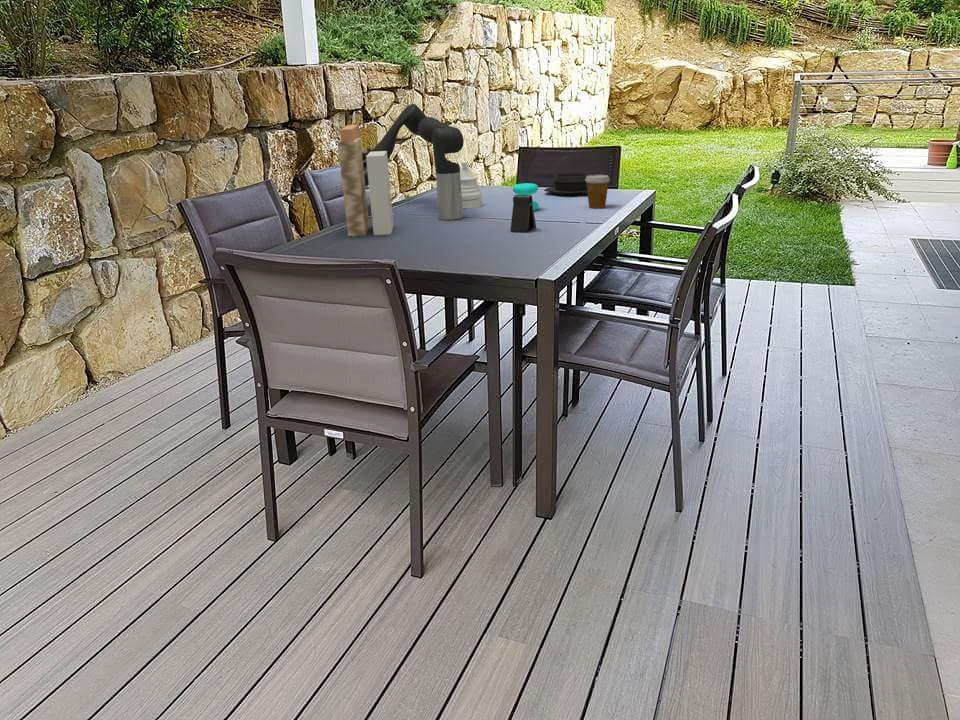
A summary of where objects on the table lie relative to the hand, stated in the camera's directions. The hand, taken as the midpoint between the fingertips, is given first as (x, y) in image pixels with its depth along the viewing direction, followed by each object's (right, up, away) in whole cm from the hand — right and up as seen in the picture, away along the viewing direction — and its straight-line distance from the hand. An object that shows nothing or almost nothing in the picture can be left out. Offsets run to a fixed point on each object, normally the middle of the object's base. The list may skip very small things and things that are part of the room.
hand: (356, 151), depth 280 cm
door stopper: (+62, -33, -20) cm, 73 cm away
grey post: (+11, -31, -10) cm, 35 cm away
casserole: (+87, -5, +48) cm, 99 cm away
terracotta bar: (+1, 0, -17) cm, 17 cm away
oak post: (+3, -32, -10) cm, 33 cm away
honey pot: (+41, -14, +30) cm, 53 cm away
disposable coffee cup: (+93, -18, +14) cm, 95 cm away
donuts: (+65, -19, +15) cm, 69 cm away
